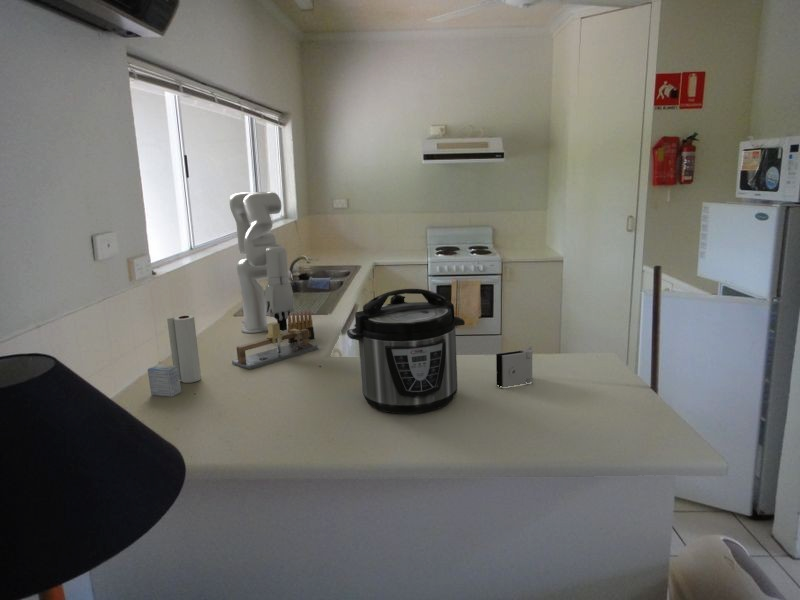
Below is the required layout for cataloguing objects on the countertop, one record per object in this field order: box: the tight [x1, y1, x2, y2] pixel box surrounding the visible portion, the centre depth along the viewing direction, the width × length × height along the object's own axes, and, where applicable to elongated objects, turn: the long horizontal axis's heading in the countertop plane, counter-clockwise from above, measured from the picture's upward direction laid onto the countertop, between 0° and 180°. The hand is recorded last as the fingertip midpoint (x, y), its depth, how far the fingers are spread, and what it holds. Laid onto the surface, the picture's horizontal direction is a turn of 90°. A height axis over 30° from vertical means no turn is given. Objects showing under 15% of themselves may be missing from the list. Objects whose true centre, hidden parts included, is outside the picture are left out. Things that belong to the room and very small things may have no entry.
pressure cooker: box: [346, 288, 466, 414], centre depth 159 cm, size 30×28×32 cm
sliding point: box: [265, 322, 284, 353], centre depth 209 cm, size 5×4×11 cm
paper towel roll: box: [166, 314, 202, 384], centre depth 185 cm, size 7×6×21 cm
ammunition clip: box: [287, 309, 316, 344], centre depth 229 cm, size 11×2×12 cm, turn 124°
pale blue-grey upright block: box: [147, 364, 182, 398], centre depth 175 cm, size 8×4×9 cm, turn 71°
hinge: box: [495, 345, 533, 388], centre depth 170 cm, size 14×5×10 cm, turn 120°
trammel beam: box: [236, 329, 310, 364], centre depth 209 cm, size 4×30×7 cm, turn 138°
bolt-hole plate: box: [231, 341, 319, 371], centre depth 210 cm, size 11×30×1 cm, turn 137°
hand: (282, 329), depth 211 cm, fingers closed
